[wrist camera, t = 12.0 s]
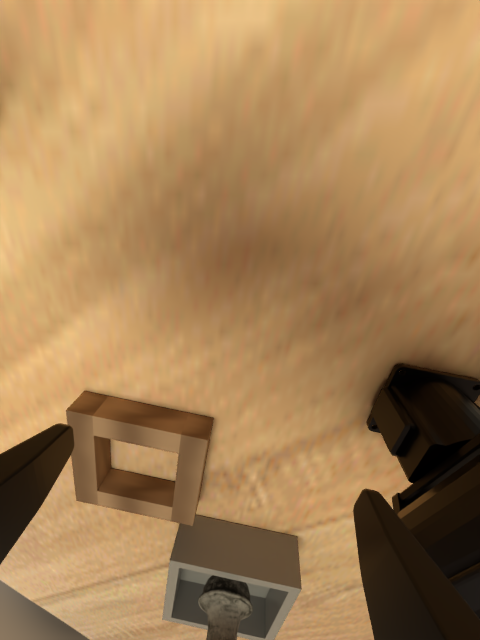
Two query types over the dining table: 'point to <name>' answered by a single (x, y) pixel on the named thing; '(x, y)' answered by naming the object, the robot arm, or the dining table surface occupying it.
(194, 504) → the socket block
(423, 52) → the dining table surface
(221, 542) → the bin
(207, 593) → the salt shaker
